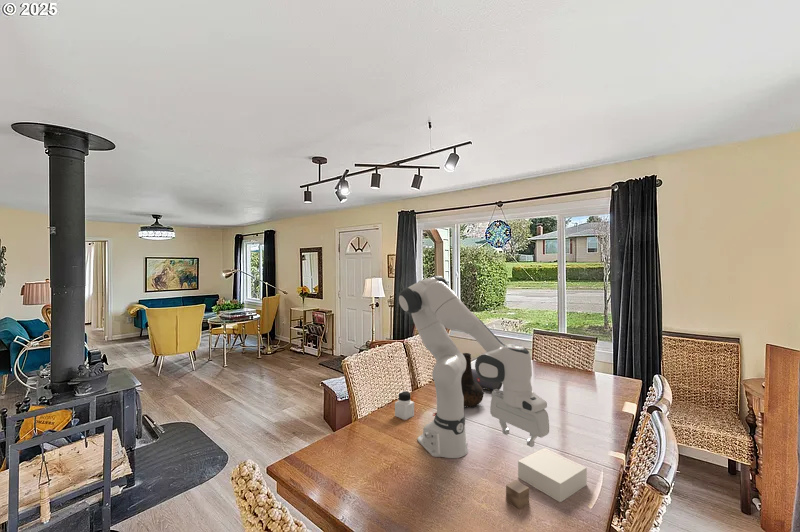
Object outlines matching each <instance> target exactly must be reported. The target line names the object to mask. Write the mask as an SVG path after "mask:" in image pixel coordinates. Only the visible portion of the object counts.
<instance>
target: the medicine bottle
mask: <svg viewBox="0 0 800 532" xmlns="http://www.w3.org/2000/svg"><path fill="white" fill-rule="evenodd" d="M414 416H415V401H412V400H411V392H410V391H407V390H406V391H405V390H403V391H402V390H401V391H400V392H398V400H397V401H395V402H394V417H396V418H399V419H401V420H404V421H406V420H408V419H411V418H413V417H414Z"/></svg>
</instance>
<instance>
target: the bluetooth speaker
mask: <svg viewBox="0 0 800 532" xmlns="http://www.w3.org/2000/svg"><path fill="white" fill-rule="evenodd" d="M471 369H472V375H473V379H474V381H475V382H476V383H478V384H479V385H480V386H481V387H482V389H483V388H485V389H484V390H487V389H490V390H492V391H493V390H495V389H498V390H500V391H501V389H502V388H503V383H501V382H498V383H495V382H486V381H484V380H482V379H481V378H480V377H479V376H478V374H477V372H476V369H475V368H471Z"/></svg>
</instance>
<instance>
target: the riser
mask: <svg viewBox="0 0 800 532" xmlns="http://www.w3.org/2000/svg"><path fill="white" fill-rule="evenodd" d="M587 474H588V473H587V467H586V466H584V465H583V464H580V463H578V462H576V461H574V460H571V459H569V458H566V457H565V456H563V455H561V454H559V453H556V452H554V451H552V450H550V449H548V448H546V447H544V448H541V449H539V450H538V451H535V452H533V453H531V454H529V455H526V456H525V457H522V458H521V459H519V460H517V478H518V479H520V480H521V481H523V482H525V483H527V484H528V485H530V486H531V487H533V488H535V489H537V490H539V491H541V492H542V493H544V494H545V495H547V496H549V497H550V498H551V499H553V500H556V501H557V502H559V503H563V501H565V500H566V499H568V498H570V497H571V496H572V495H574V494H575V493H578V492H579V491H580V490H581V489H583V488H585V487H586V486H587V484H588V483H587V478H588V477H587Z"/></svg>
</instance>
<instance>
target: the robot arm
mask: <svg viewBox="0 0 800 532" xmlns="http://www.w3.org/2000/svg"><path fill="white" fill-rule="evenodd" d="M397 299H398V304H399V306H400V307H401V310H403V312H405V313H407V314H408V315H409V314H411V317H412V320H413V321H412V322H413V323H414V327H415V328H416V330H417V333H418V335H419V337H420V339H421V341H422V344H424V347H425V349H426V350H428V351H429V352H430V354H431V355H432V356H433V357H434V359H435V360H436V362H435V364H434V366H433V368H432V373H431V375H432V380H433V382H434V388H435V393H436V412H433V413H432V417H434V419H433V420H432V421H430V422H429V423H427V424H426V425H425V426H424V428H423V432H422V434H420V435H419V436H418V437H417V442H418V443H419V444H420V445H421V446H422V447H423V448H424V449H425V450H426V451H427V452H428V453H429V454H430V455H431V456H432V457H434V458H435V457H436V458H441V457H442V458H446V459H458V458H462V457H464V456H466V455H467V454H468V453H469V450H468V440H467V436H466V427H465V426H466V416H465V414H464V413H465V412H464V410H465V409H464V408H465V407H464V396H463V393H462V386H461V378H462V375H463V373H464V372H465V370H466V359H465V357H464V355H463V353H461V351H460V349H459V348H458V347H457V345H456V344H455V342H454V341H453V339H452V337H451V336H450V335H449V333H448V331H447V329H448V330H451V331H456V332H461V333H463V334H464V333H465V334H467V335H469V336H472V337H473V339H475V340H476V341H477V343H479V345H480V346H481V347H482V348H483V349H484V351H486V352H484V353H482V354H480V355H479V356H478V357H476V360H475V362H474V369H475V370H476V372H477V374H478V376H479V377H480V378H481V379H482V380H484V381H486V382H495V383H498V382H501V383H502V390H501V389H500V390H498V389H495V390H493V389H492V391H491V401H490V407H489V408H490V411H489V412H490V415H491V416H492V417H493V418H496V419H498V422H499V425H500V427H501V429H502V431H501V432H502V435H503V434H504V435H506V436H508V435H510V428H508V426H507V424H509V425H511V426H514V427H516V428H517V429H520V430H522V431H525V432H527V433H528V434H529V437H530V438H528V439H526V445H527V446H528V447H531V448H534V446H535V440H536V439H537V438H539V439H540V438H544V437H546V436H548V435H549V433H550V419H549V413H548V412H547V410H546V408H547V407H548V403H547V401H546V400H544V398H542V397H540V396H539V395H538V394H536V393H535V392H534V391H533V386H532V383H531V380H532V376H533V369H532V368H533V367H532V358H531V357H532V356H531V354H530V351H529V350H528V349H527V348H526V347H524V346H522V345H520V344H519V345H518V344H513V343H507V344H505V343H503V341H501V340H500V339H499V338H498V337H497V336H496V334H494V332H492V331H491V330H490V329H489V327H488V326H486V324H485V323H484V322H483V321H482V320H481V319H480V318H479V317H478V316H477V315H475V313H473V312H472V311H471V310H470V309H469V308H468V307H467V306H466V304H464V302H463V301H462V300H461V298H459V296H458V295H457V294H456V293H455V291H454V290H453V289H451V287H450V286H449V283H448V281H447V280H446V279H445V278H444V277H443V276H442V275H432V276H430V277H428V278H425V279H422V280H419V281H417V282H415V283H414V284H411V285H410V286H408V287H405V288H403V289H402V290H400V292H399V293H398V298H397Z"/></svg>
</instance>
